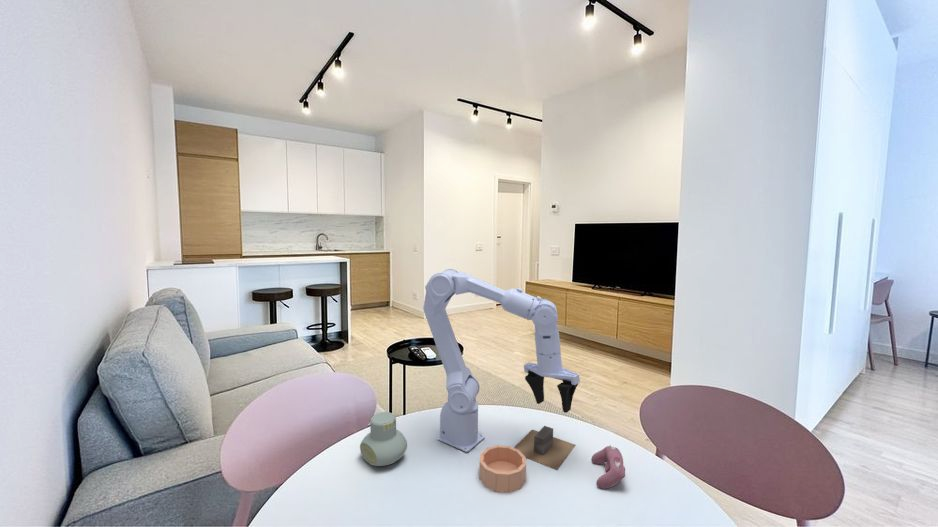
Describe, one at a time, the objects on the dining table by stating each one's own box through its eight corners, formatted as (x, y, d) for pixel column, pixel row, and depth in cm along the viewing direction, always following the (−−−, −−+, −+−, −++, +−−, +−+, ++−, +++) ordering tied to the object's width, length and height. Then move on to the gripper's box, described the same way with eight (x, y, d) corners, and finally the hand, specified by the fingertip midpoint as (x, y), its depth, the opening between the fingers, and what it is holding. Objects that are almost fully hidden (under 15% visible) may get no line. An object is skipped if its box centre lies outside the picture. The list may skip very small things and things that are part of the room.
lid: (510, 453, 90) (510, 435, 89) (532, 432, 100) (532, 415, 99) (557, 473, 83) (557, 453, 83) (575, 447, 93) (576, 429, 92)
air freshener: (356, 455, 88) (355, 415, 87) (385, 441, 94) (385, 403, 93) (381, 477, 80) (381, 433, 79) (412, 460, 86) (411, 419, 85)
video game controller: (615, 499, 76) (632, 472, 75) (594, 487, 77) (612, 460, 76) (607, 468, 86) (622, 445, 85) (589, 458, 87) (604, 434, 85)
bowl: (470, 479, 80) (471, 462, 79) (494, 456, 88) (495, 440, 87) (511, 499, 74) (511, 480, 73) (533, 472, 82) (533, 455, 82)
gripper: (584, 351, 85) (589, 408, 86) (534, 342, 96) (538, 393, 96) (567, 360, 80) (572, 420, 81) (516, 350, 91) (521, 403, 92)
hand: (553, 406), depth 88 cm, fingers open, 7 cm apart
